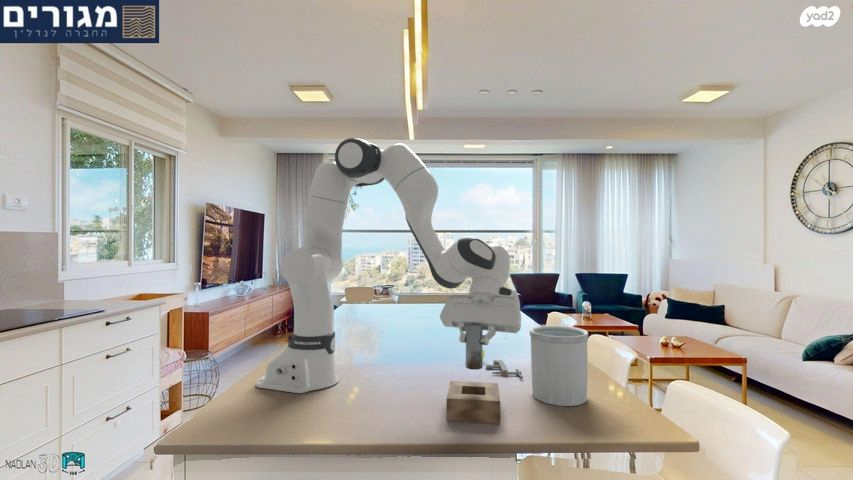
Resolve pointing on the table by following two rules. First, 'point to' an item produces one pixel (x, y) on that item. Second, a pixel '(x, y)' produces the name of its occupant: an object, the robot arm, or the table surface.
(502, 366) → the clamp
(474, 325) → the peg
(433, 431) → the table surface
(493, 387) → the socket
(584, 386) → the utensil holder
